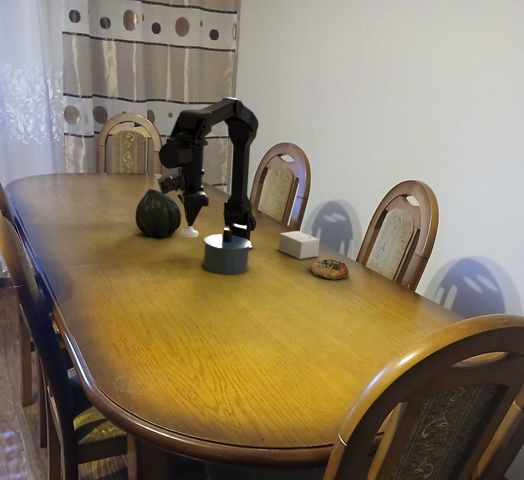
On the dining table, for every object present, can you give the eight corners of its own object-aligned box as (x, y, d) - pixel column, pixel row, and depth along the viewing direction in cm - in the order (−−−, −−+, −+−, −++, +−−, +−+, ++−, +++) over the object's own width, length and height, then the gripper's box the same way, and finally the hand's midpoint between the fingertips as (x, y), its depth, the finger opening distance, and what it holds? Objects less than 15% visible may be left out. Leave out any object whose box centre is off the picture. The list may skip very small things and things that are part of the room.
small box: (277, 249, 181) (299, 259, 174) (279, 232, 178) (301, 242, 171) (296, 247, 185) (317, 256, 178) (298, 230, 183) (320, 239, 176)
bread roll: (351, 270, 168) (353, 255, 165) (343, 287, 159) (345, 271, 157) (315, 265, 171) (316, 249, 168) (305, 280, 162) (306, 265, 160)
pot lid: (209, 235, 165) (210, 220, 163) (253, 242, 164) (255, 226, 162) (198, 248, 153) (199, 231, 151) (245, 255, 152) (247, 238, 150)
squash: (197, 220, 183) (173, 179, 181) (166, 230, 171) (141, 186, 170) (172, 240, 192) (149, 201, 191) (141, 251, 180) (117, 210, 179)
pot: (209, 257, 167) (210, 234, 164) (249, 263, 166) (252, 240, 163) (199, 270, 156) (200, 246, 153) (242, 276, 155) (244, 252, 152)
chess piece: (177, 232, 153) (178, 195, 148) (195, 231, 155) (196, 195, 150) (183, 237, 149) (184, 199, 144) (200, 237, 151) (202, 199, 146)
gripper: (155, 156, 149) (155, 215, 156) (164, 170, 133) (163, 234, 140) (197, 158, 152) (195, 216, 159) (210, 172, 137) (207, 235, 144)
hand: (189, 225), depth 151 cm, fingers closed on chess piece
